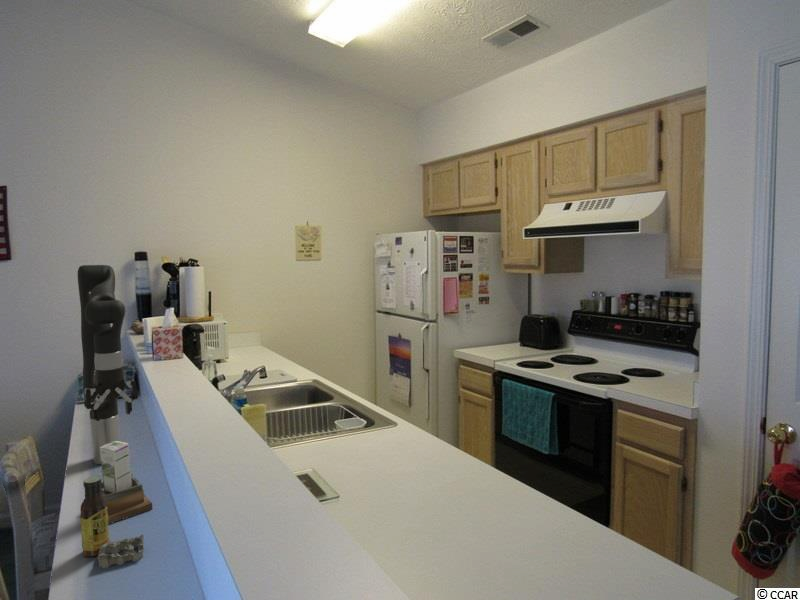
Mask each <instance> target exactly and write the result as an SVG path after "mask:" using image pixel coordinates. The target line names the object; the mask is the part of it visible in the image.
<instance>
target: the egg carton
mask: <svg viewBox="0 0 800 600" xmlns="http://www.w3.org/2000/svg"><path fill="white" fill-rule="evenodd" d="M144 540H145V539H144V534H140V535H138V536H136V537H131V538H128V537H127V538H124V539H120V540H117V541H110V540H109V542H107V543H105V544H104V545H103V546H101V548H100V551H99V555H97V559H98V560H97V561H98V567H99V568H103V569H107V568H110V566H112V565H116V564H117V565H118V566H120V565H121V566H122V565H124V564H125V563H126V562H129V561H132V562H138V561H139V560H140V559H142V558H144V550H145V546H144ZM136 548H137V550H138V551H137V553H135V549H136ZM121 550H123V555H120V553H121V552H122V551H121ZM119 552H120V553H119ZM107 553H109V554H107ZM116 553H117V554H116ZM112 554H115V555H112Z"/></svg>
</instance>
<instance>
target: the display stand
mask: <svg viewBox="0 0 800 600" xmlns="http://www.w3.org/2000/svg"><path fill="white" fill-rule="evenodd" d="M131 481H132V487H130V488H127V489H124V490H121V491H118V492H114V493H109V492H104V487H103V481H101V492H102V496H103V498H104V501H105V503H106V505H107V509H108V525H111V524H113V523H112V522H114V523H116V522H115V521H117V522H119V521H118V520H120V521H122V520H121V519H123V518H126V517H129V516H132V515H134V516H137V515H139V513H140V514H143V513H147V512H149V511H151V510H153V502H152V501H151V500H150V499H149V498H148V497H147V496H146V495H145V493H144V489H143V484H142V483H141V482H140V481H139V480H138V479H137V478H136V477H135V476H134V475H133V474H132V473H131ZM142 512H143V513H142ZM136 514H137V515H136ZM132 517H133V516H132ZM129 518H130V517H129ZM126 519H127V518H126ZM123 520H124V519H123ZM110 523H111V524H110Z"/></svg>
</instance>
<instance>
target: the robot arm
mask: <svg viewBox="0 0 800 600" xmlns="http://www.w3.org/2000/svg"><path fill="white" fill-rule="evenodd" d="M77 287H78V293H79V302H80V320H81V321H80V334H81V336H80V337H81V348H82V365H83V366H82V367H83V368H82V393H83V397H84V398H83V401H84V402H83V404H84V405H83V406H84V407H85V409H86V410H89V421H90V431H91V432H90V433H91V446H92V447H91V448H92V457H93V458H92V459H93V461H92V462H93V463H94V464H96V465H101V454H100V447H102V446H104V445H105V444H108V443H110V442H113V441H119V442H121V432H120V420H119V406H118V403H119V402H118V398H119V397H122V399H124V400H125V401H124V405H125V408H124V409H125V414H126V415H130V414H131V413H132V412H133V405H132V404H133V401H135V400H137V399H138V398H139V395H138V394H139V393H138V387H137V381H135V380H134V379H130V380H128V381H125V371H124V369H125V368H124V358H123V357H124V356H123V352H122V341H121V339H122V336H121V335H122V329H123V328H122V326H123V322H124V319H125V317H126V316H125V315H126V306H125V304H124V303H123V302H122V301H121V300H119V299H116V295H115V290H116V273H115V271H114V268H113V267H112V266H110V265H107V264H85V265H84V264H82V265H80V266H78V269H77ZM127 387H128V388H129V389H130V395H129V396H128V394H126V393H125V392H124V390H125V389H126V388H127ZM92 401H93V402H92Z"/></svg>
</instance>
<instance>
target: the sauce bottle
mask: <svg viewBox="0 0 800 600" xmlns="http://www.w3.org/2000/svg"><path fill="white" fill-rule="evenodd" d="M101 483H102V478H101V477H100V476H91V477H88V478H86V479H84V480H83V488H84V499H83V500H82V502H81V505H80V529H81V530H80V533H81V548H82V554H83V556H85V557H90V558H91V557H95V556H97V557H98V555H99V551H100V548H101V546H103V545H104V544H105V543H107V542H110V533H109V532H110V531H109V530H110V528H109V524H108V509H107V505H106V503H105V501H104V498H103V496H102V492H101Z"/></svg>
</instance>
